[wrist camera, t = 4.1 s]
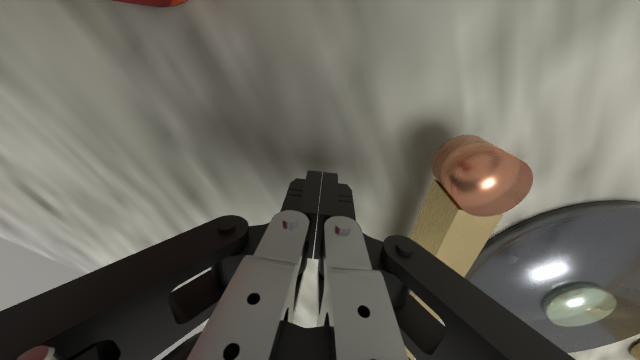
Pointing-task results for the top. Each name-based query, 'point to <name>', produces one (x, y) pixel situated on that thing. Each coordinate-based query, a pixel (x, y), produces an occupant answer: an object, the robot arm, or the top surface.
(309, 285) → the top surface
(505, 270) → the lid
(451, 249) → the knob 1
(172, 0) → the coffee cup
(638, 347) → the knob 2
